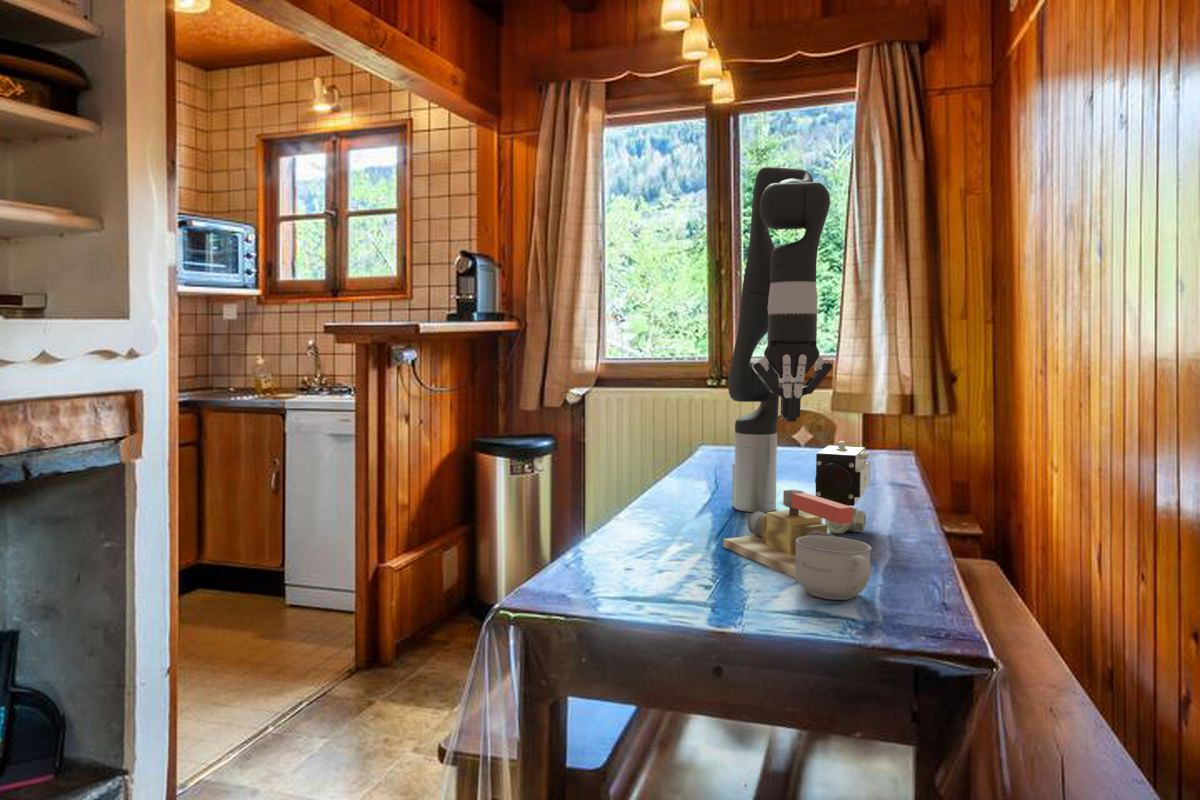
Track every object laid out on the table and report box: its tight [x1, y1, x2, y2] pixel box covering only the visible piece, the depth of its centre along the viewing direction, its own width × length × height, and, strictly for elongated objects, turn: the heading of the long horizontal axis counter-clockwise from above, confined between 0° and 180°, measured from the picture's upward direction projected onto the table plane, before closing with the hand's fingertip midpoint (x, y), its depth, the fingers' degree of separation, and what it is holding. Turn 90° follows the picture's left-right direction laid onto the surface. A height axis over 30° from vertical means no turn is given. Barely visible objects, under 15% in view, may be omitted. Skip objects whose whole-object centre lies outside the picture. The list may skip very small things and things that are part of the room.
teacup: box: [795, 535, 873, 601], centre depth 114 cm, size 14×11×8 cm
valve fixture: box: [722, 507, 837, 579], centre depth 136 cm, size 21×15×9 cm
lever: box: [782, 489, 854, 524], centre depth 129 cm, size 16×3×2 cm, turn 20°
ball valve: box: [814, 440, 871, 535], centre depth 154 cm, size 18×8×18 cm, turn 154°
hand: (790, 421), depth 124 cm, fingers closed
